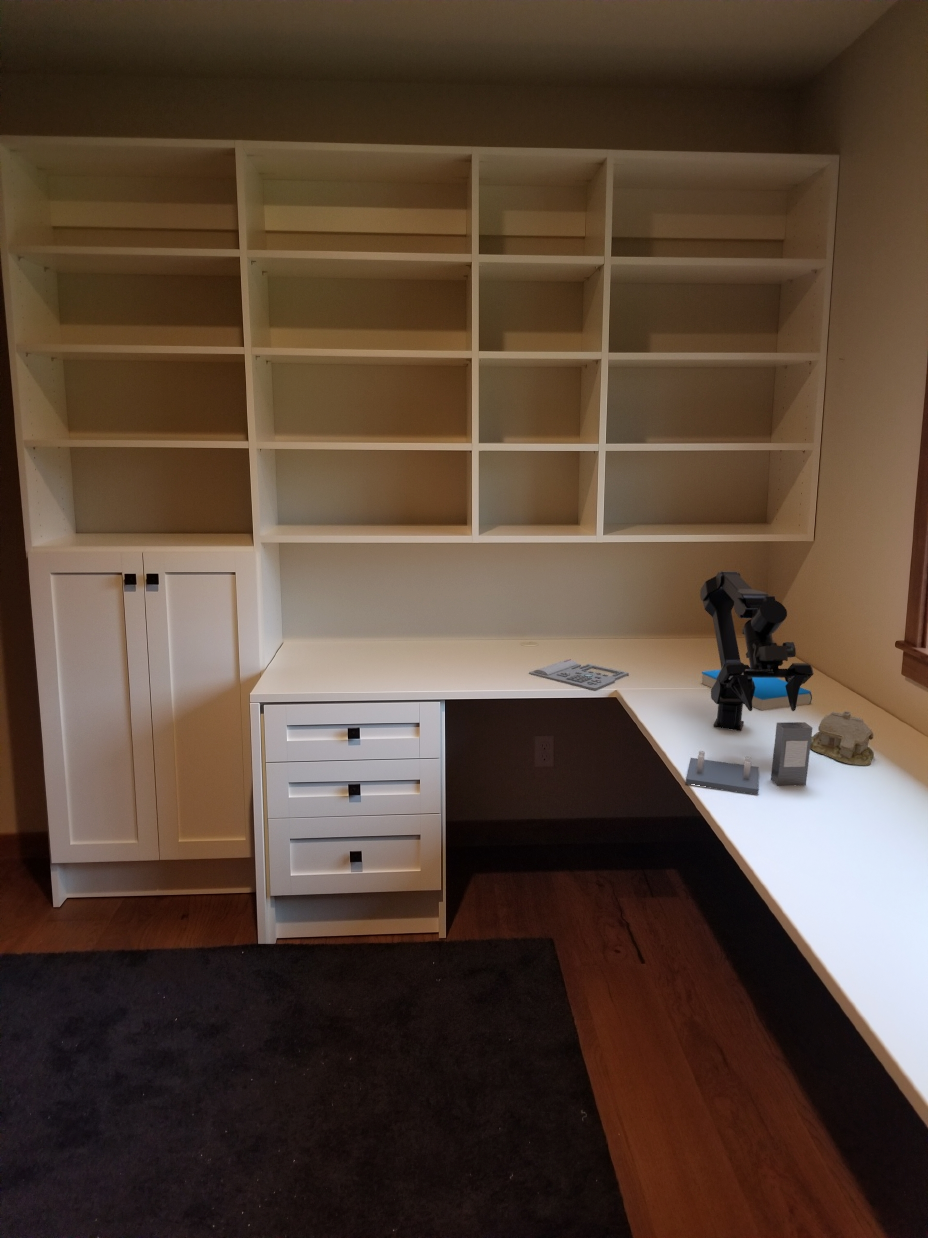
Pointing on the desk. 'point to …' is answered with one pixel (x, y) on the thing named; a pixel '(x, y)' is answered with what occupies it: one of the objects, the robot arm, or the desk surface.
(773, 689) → the book
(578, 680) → the office telephone
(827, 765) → the desk surface
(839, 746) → the ceramic model
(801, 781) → the block
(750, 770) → the grey pegged stand
